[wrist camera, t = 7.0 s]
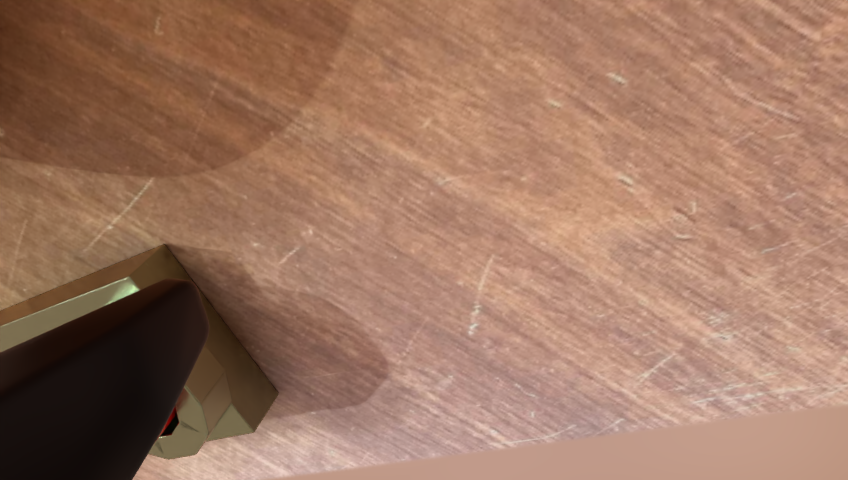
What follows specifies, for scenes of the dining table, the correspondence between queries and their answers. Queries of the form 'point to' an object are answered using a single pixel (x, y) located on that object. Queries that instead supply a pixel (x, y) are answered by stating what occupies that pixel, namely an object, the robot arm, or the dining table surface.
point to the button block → (211, 376)
